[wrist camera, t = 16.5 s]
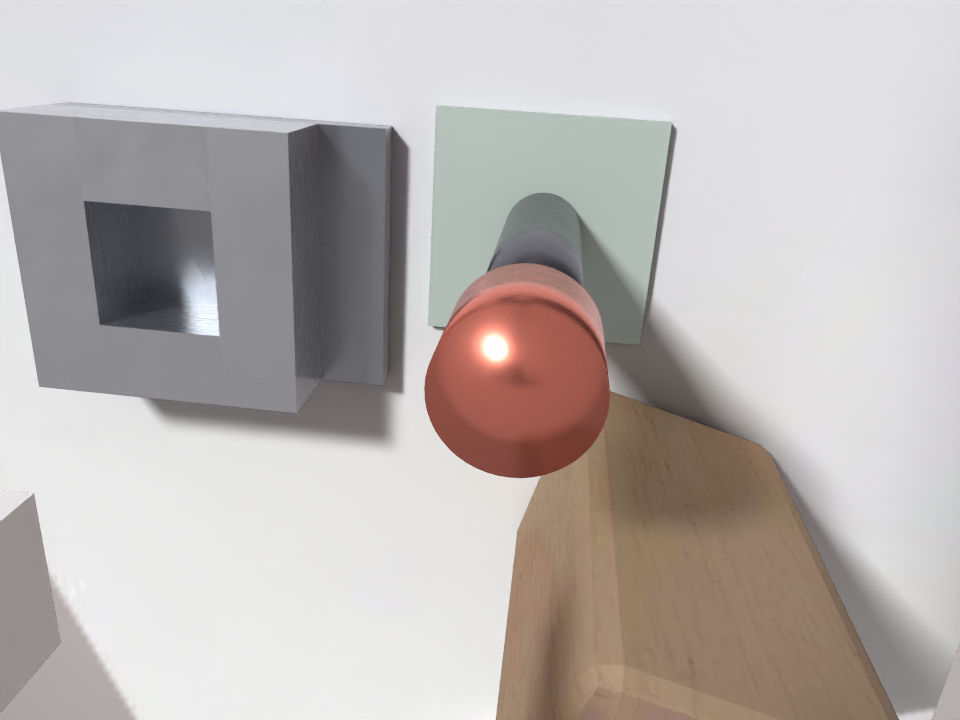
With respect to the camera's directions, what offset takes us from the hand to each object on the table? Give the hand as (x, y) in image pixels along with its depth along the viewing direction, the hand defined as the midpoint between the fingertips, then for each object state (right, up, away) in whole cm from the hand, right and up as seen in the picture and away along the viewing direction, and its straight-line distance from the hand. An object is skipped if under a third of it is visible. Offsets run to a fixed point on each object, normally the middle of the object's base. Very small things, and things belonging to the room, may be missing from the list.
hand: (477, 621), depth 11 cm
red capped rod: (+3, +9, +24) cm, 26 cm away
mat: (+3, +10, +24) cm, 26 cm away
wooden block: (+8, -3, +29) cm, 30 cm away
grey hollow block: (-12, +9, +26) cm, 30 cm away
